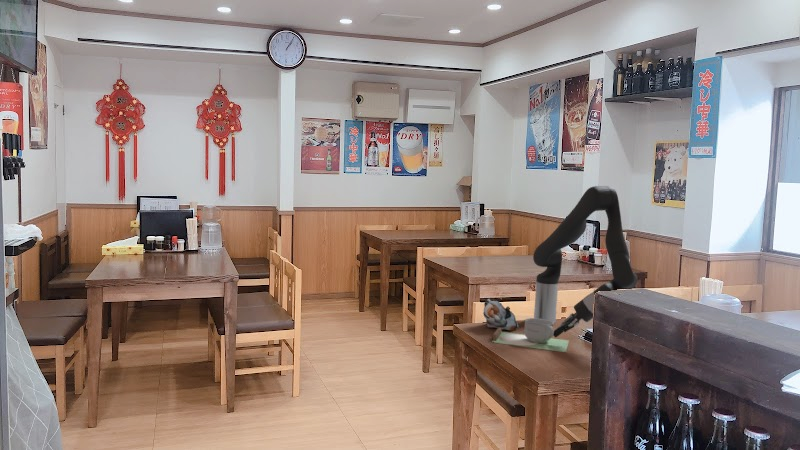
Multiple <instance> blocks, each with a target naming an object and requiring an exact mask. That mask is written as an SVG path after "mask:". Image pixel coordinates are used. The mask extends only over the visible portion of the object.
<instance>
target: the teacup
mask: <svg viewBox="0 0 800 450" xmlns="http://www.w3.org/2000/svg"><path fill="white" fill-rule="evenodd" d="M554 324H555V323H553V322H552V321H549V320H544V319H537V318H534V317H528V318H525V319H524V331H523V332H524V333H523V334H524V335H525V336H526V337H527V338H528V340H530V341H532V342H537V343H545V342H547V341H548V340H550V339H551V338H553V337H554V335H553V334H554V330H555V329H554Z"/></svg>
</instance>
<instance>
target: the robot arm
mask: <svg viewBox="0 0 800 450" xmlns="http://www.w3.org/2000/svg"><path fill="white" fill-rule="evenodd" d="M598 211H599V212H600V211H605V214H606V218H607V229H606V234H605V238H604V243H605V247H606V251H607V255H608V257H609V260H610V266H611V271H612V276H613V279H611V280H609V282H606V283H603V284H601V285H600V286H598V287H597V288H596V289H595V290H594V291H592V292H590V293H589V294H588V295H586V296H584V297H583V298H582V299H581V300H580V301H578V302H577V303H576V304H575V305H574V306H573V308H574V309H573V310H574V313H573V312H572V313H570V314H569V316H567V318H565V319H564V321H563V322H561V324H560V325H559V326H558V327H557V328H556V329H554V334H553V337H554V338H558V337H559V336H560V335H562V334H563V333H566V332H568V331H570V330H572V329H573V328H575V326H578V325H579V324H580V321H581V320H583V321H584V322H585V323H588V322H590V321H592V320H593V304H594V295H595V293H596V292H598V291H611V290H617V289H631V290H632V289H633V288H635V287H636V286H637V284H638V282H639V281H638V280H639V279H638V275H637V274H636V272H634V271H633V268H632V265H631V261H630V251H629V249H628V246H627V242H626V240H625V236H624V231H623V225H622V215H621V209H620V202H619V195H618V193H617V190H616V189H615V188H614V187H613V186H610V185H595V186H590V187H589V188H587V189H586V191H585V192H584V193H583V194H582V196H581V198H579V201H578V202H577V203H576V205H575V206H574V208H572V210H571V211H570V213H569V214H567V216H566V217H565V218H564V219H563V220H562V221H561V223H560V224H559V225H558V226H557V228H556V229H554V230H553V232H551V234H550V235H549V236H548V237H547V238H546V239H544V241H542V242H541V243H540V244H539V245H537V247H536V248H535V250H534V252H533V255H532V257H533V259H532V260H533V262H534V264H535V265H536V266H538V267H541V268H546V269H545V270H544V271H542V272H540V273H538V274H537V275H536V280H535V281H536V283H535V297H534V308H533V310H534V311H533V312H534V313H533V318H537V319H544V320H549V321H552V322H553V323H554V324H556V319H557V318H556V317H557V307H558V306H557V305H558V291H559V288H558V287H559V280H560V278H561V271H562V264H563V252H562V249H564V248H565V247H568V246H570V245H572V244H574V243H576V242H577V241H578V240H579V238H580V237H581V236H583V234H584V233H585V231H586V230H587V229H586V228H587V219H588V218H589V217H590V216H591V215H592V214H593V213H594V212H598Z"/></svg>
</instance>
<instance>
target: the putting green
mask: <svg viewBox="0 0 800 450" xmlns="http://www.w3.org/2000/svg"><path fill="white" fill-rule="evenodd" d="M502 330H503V329H502V328H501V327H499V328H496V329H495V332H494V333H493V335H492V341H491V343H493V342H494V343H493V344H500V345H508V346H515V347H524V348H530V349H531V348H533V349H538V350H545V351H555V352H561V353H566V352H567V350H568V349H567V348H568V347H569V346H568V345H569V343H570V342H569V341H570V340H569V339H561V338H560V339H559V338H553V337H551V339H550V340H548V341H547V342H545V343H537V342H532V341H530V340H528V338H527V337H526V336H525V334H521V333H513V332H507V331H506V332H505V331H502Z"/></svg>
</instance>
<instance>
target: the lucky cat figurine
mask: <svg viewBox="0 0 800 450" xmlns="http://www.w3.org/2000/svg"><path fill="white" fill-rule="evenodd" d="M483 306H484V307H483V313H482V314H483V316H484V318H485V320H486V326H487V328H490V329H491V328H494V329H498V328H499V327H501V328H502V330H505V331H509V332H514V331H516V330H517V329H519V328H520V326H519V323H518V322H517V321H516V316H515V314H514V313H513V312H512V311H511V308H510V306H506V307H504V305H503V304H502V303H501V302H500V301H498V300H492V299H491V298H487V299H484V304H483Z"/></svg>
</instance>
